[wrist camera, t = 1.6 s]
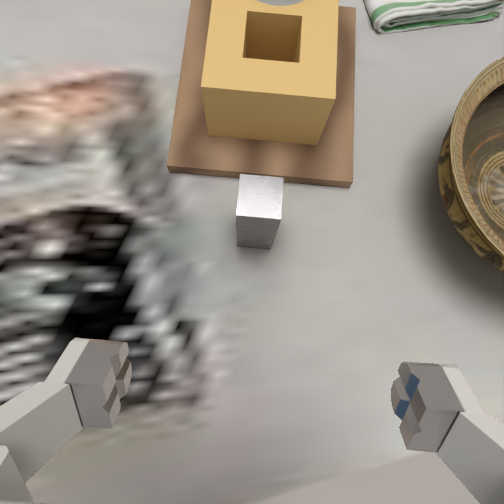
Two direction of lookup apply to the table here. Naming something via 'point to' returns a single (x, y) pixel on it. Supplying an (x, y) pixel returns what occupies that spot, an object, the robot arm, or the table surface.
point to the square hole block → (270, 69)
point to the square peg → (258, 210)
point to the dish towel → (428, 13)
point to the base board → (260, 151)
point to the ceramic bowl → (477, 166)
